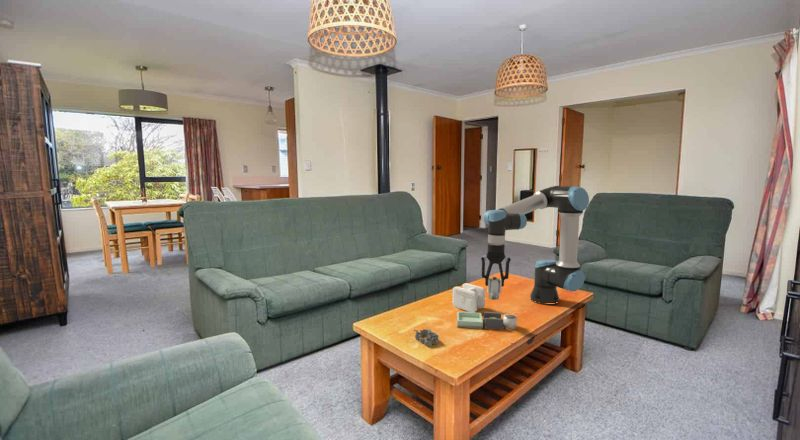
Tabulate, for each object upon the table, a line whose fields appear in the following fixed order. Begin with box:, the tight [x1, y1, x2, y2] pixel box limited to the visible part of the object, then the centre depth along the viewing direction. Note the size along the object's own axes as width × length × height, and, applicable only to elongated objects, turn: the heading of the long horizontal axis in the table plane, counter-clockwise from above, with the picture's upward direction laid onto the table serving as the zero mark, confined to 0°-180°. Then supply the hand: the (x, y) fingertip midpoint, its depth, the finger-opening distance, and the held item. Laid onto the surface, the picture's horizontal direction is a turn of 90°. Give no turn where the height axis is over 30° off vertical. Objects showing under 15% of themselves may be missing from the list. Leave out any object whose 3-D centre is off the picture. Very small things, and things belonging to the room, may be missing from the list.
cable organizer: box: [451, 282, 486, 313], centre depth 194 cm, size 15×11×12 cm
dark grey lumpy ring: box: [413, 328, 440, 347], centre depth 157 cm, size 11×8×4 cm
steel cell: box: [488, 276, 501, 301], centre depth 171 cm, size 5×5×10 cm
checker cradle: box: [483, 311, 504, 330], centre depth 173 cm, size 8×9×5 cm
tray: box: [456, 311, 484, 330], centre depth 176 cm, size 12×12×3 cm
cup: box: [502, 313, 518, 330], centre depth 171 cm, size 6×6×5 cm
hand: (494, 292), depth 171 cm, fingers closed on steel cell, 4 cm apart
